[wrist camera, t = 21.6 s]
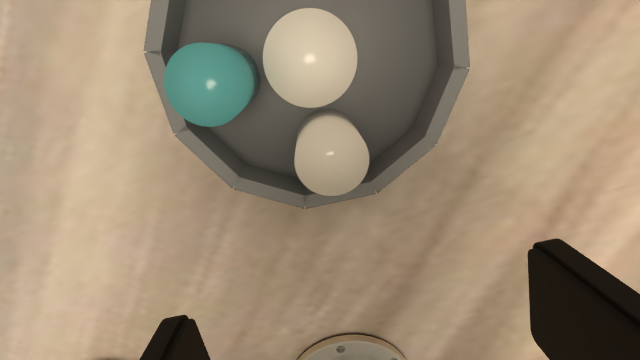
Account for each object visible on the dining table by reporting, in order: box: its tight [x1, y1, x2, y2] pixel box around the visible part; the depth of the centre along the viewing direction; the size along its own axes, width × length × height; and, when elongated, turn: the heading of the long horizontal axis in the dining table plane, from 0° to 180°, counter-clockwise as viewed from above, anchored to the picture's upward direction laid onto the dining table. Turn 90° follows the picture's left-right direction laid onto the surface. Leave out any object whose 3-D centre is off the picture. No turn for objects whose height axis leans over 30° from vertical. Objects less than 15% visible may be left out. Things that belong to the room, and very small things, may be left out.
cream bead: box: [294, 108, 369, 196], centre depth 25 cm, size 5×5×6 cm
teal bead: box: [164, 43, 260, 127], centre depth 23 cm, size 5×5×6 cm
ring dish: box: [144, 0, 470, 209], centre depth 24 cm, size 21×21×4 cm
